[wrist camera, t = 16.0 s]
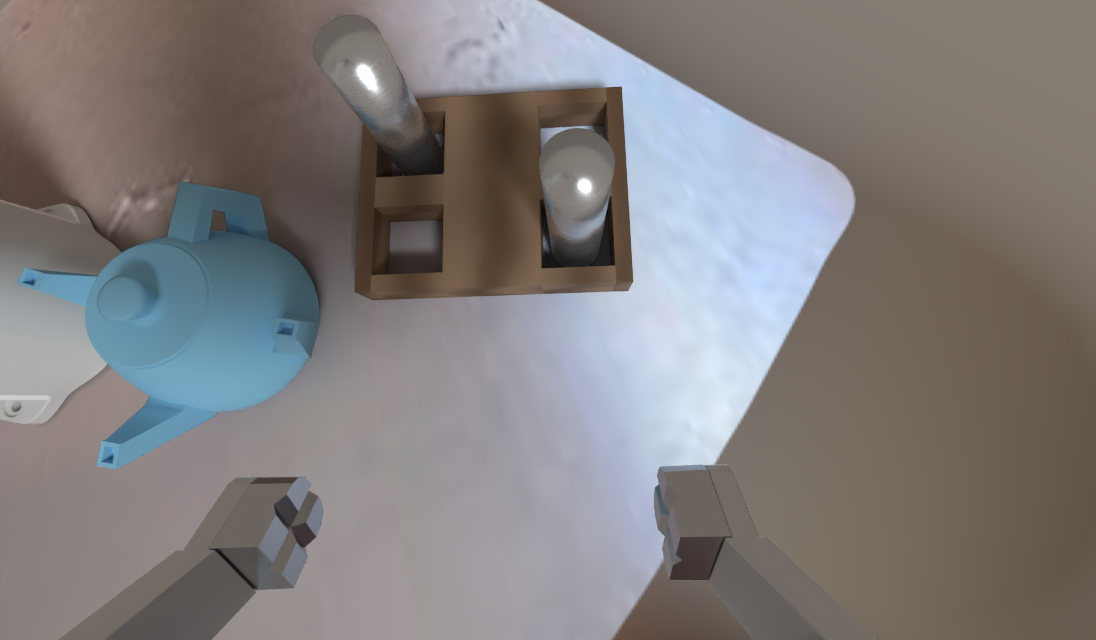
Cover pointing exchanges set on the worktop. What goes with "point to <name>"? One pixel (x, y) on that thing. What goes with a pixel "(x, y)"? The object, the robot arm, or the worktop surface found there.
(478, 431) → the worktop surface
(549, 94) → the socket board
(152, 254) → the teapot
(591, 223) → the pin
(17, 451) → the worktop surface
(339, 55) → the pin
